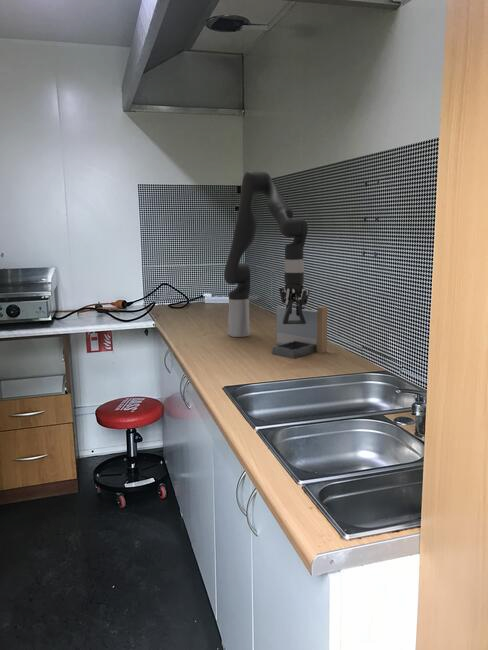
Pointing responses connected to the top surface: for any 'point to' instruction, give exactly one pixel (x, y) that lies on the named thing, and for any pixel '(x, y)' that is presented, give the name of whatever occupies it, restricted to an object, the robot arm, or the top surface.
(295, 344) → the keeper
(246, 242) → the robot arm
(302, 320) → the door stopper
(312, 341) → the door
